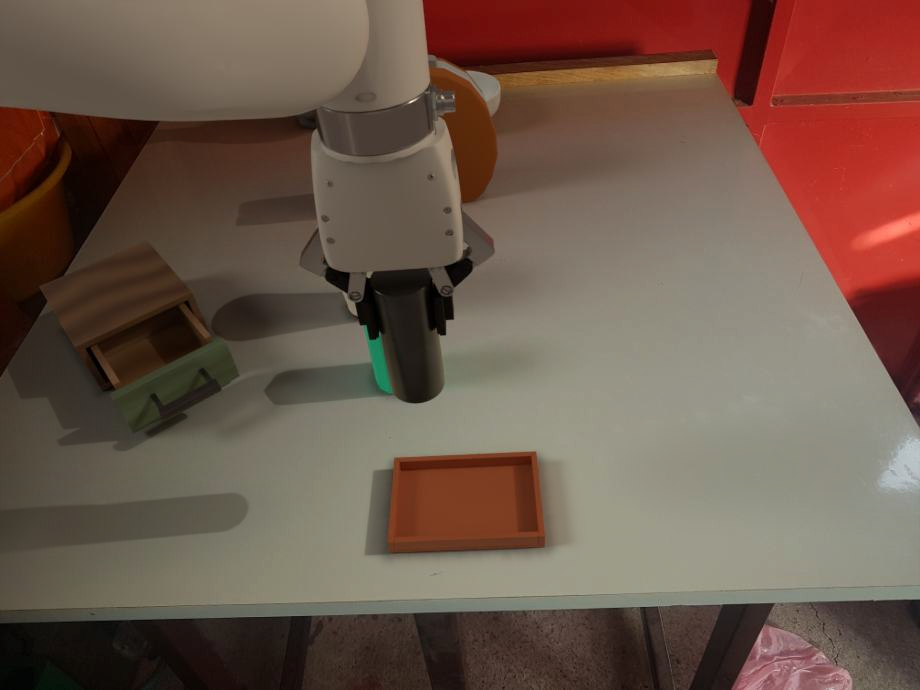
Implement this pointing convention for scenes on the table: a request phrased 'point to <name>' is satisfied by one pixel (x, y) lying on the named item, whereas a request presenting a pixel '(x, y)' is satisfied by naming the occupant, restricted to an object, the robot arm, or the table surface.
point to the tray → (466, 502)
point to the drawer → (164, 366)
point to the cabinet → (115, 299)
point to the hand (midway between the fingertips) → (408, 324)
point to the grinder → (409, 333)
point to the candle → (379, 362)
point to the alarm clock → (467, 128)
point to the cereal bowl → (488, 89)
